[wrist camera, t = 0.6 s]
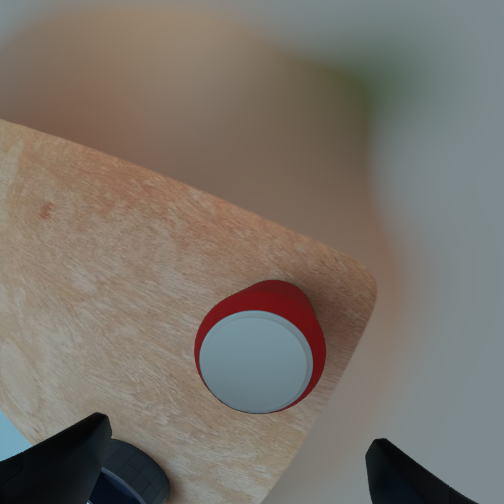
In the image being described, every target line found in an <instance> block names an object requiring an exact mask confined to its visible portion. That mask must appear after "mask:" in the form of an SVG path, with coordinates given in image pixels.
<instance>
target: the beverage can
mask: <svg viewBox="0 0 504 504" xmlns="http://www.w3.org/2000/svg"><path fill="white" fill-rule="evenodd" d="M194 355H195V363H196V367H197V370H198V373H199V375H200V377H201V379H202V381H203V383H204V384H205V386H206V387H207V388H208V390H209V391H210V392H211V393H212V394H213V395H214V396H215V397H216V398H217V399H218V400H219V401H221V402H222V403H224V404H225V405H227V406H229V407H231V408H233V409H235V410H238V411H241V412H245V413H251V414H266V413H274V412H278V411H282V410H285V409H287V408H290V407H291V406H293V405H295V404H297V403H298V402H300V401H301V400H302V399H304V398H305V397H306V396H307V395H308V394H309V393H310V392H311V391H312V390H313V388H314V387H315V386H316V384H317V382H318V381H319V379H320V377H321V375H322V372H323V369H324V365H325V359H326V345H325V339H324V335H323V333H322V330H321V327H320V325H319V323H318V320H317V318H316V315H315V313H314V311H313V308H312V306H311V304H310V302H309V300H308V298H307V297H306V295H305V294H304V293H303V292H302V291H301V290H300V289H298V288H297V287H296V286H294V285H292V284H290V283H288V282H285V281H280V280H266V281H262V282H259V283H256V284H254V285H252V286H250V287H248V288H246V289H244V290H242V291H240V292H238V293H236V294H233V295H231V296H229V297H227V298H225V299H224V300H222V301H221V302H219V303H218V304H217V305H216V306H214V307H213V308H212V309H211V310H210V311H209V313H208V314H207V315H206V316H205V318H204V319H203V321H202V323H201V325H200V327H199V329H198V332H197V335H196V339H195V347H194Z"/></svg>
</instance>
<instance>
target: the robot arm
mask: <svg viewBox="0 0 504 504" xmlns="http://www.w3.org/2000/svg"><path fill="white" fill-rule="evenodd" d="M111 436H112V429H111V425H110V421H109V418H108V416H107V415H105V414H102V413H99V412H96V413H93V414H92V415H90V416H88V417H86V418H85V419H83V420H81V421H79V422H78V423H76V424H74V425H72V426H70V427H68V428H67V429H65V430H63V431H61V432H59V433H57V434H56V435H54V436H52V437H50V438H48V439H46V440H44V441H42V442H40V443H39V444H37V445H35V446H33V447H31V448H29V449H27V450H25V451H23V452H21V453H19V454H17V455H15V456H12V457H10V458H8V459H6V460H3V461H0V504H87V502H88V499H89V497H90V495H91V492H92V490H93V488H94V485H95V483H96V481H97V479H98V476H99V474H100V472H101V469H102V466H103V463H104V459H105V456H106V453H107V449H108V446H109V443H110V440H111ZM365 459H366V467H367V475H368V483H369V491H370V495H371V500H372V503H373V504H478V503H476V502H474V501H472V500H471V499H469V498H467V497H465V496H464V495H462V494H460V493H459V492H457V491H456V490H455V489H453V488H452V487H450V486H449V485H447V484H446V483H444V482H443V481H442V480H440V479H439V478H437V477H436V476H435V475H433V474H432V473H430V472H429V471H428V470H426V469H425V468H424V467H422V466H421V465H420V464H418V463H417V462H416V461H414V460H413V459H412V458H410V457H409V456H408V455H406V454H405V453H404V452H403V451H401V450H400V449H399V448H397V447H396V446H395V445H394V444H392V443H391V442H390V441H388V440H387V439H385V438H381V439H375V440H374V441H373V442H372V444H371V446H370V447H369V449H368V451H367V453H366V456H365Z"/></svg>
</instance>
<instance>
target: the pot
mask: <svg viewBox="0 0 504 504" xmlns="http://www.w3.org/2000/svg"><path fill="white" fill-rule="evenodd" d="M169 494H170V483H169V481H168V478H167V476H166V475H165V473H164V472H163V470H162V469H161V468H160V467H159V465H158V464H157V463H156V462H155V461H154V460H152V459H151V458H150V457H149V456H148V455H146V454H145V453H144V452H142V451H141V450H139V449H137V448H136V447H134V446H132V445H130V444H128V443H125V442H123V441H119V440H115V439H111V440H110V443H109V446H108V449H107V453H106V456H105V459H104V463H103V466H102V469H101V472H100V474H99V476H98V479H97V481H96V483H95V485H94V488H93V490H92V492H91V495H90V497H89V499H88V503H89V504H164V503H165V502H166V500H167V499H168V496H169Z"/></svg>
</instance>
